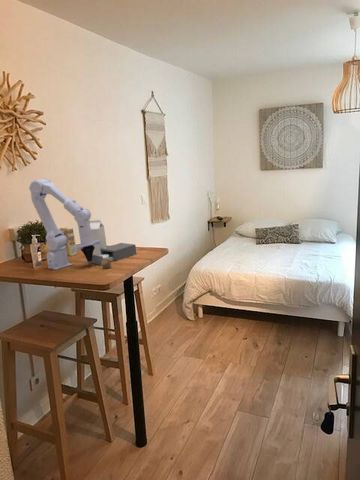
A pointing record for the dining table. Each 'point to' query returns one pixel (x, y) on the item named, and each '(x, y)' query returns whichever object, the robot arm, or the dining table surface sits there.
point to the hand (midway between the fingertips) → (89, 261)
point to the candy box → (69, 240)
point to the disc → (105, 256)
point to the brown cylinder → (106, 263)
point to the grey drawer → (100, 258)
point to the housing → (120, 250)
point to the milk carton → (98, 236)
